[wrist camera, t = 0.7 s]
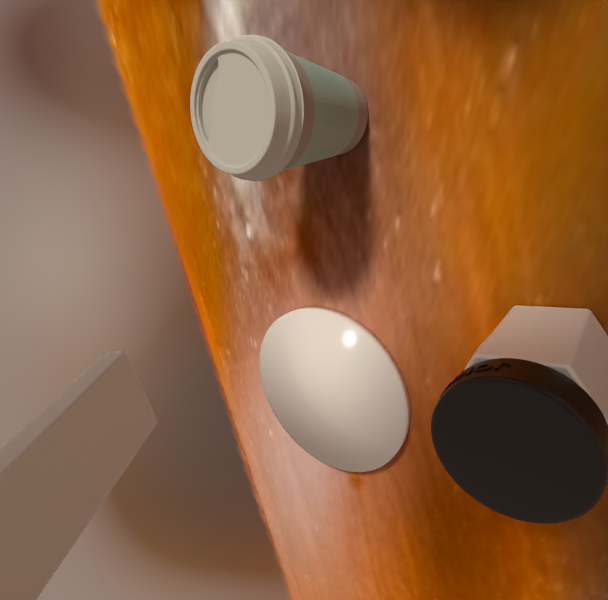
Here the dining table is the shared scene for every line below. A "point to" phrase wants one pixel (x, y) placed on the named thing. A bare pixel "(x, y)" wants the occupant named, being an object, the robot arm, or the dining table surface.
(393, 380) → the saucer
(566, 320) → the jar
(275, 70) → the coffee cup
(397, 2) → the dining table surface
